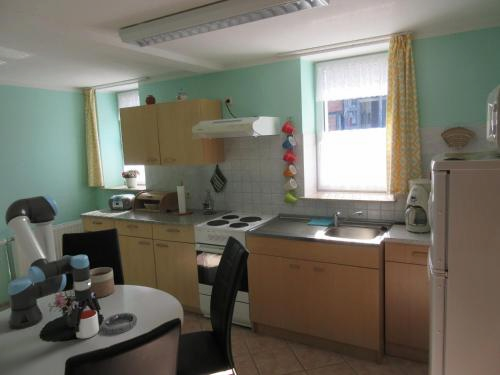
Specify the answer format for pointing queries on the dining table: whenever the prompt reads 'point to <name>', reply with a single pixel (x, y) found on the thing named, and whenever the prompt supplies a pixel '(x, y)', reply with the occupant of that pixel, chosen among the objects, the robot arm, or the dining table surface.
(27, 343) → the dining table surface
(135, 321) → the ring coaster
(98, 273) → the planter
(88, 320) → the cup
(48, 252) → the robot arm
